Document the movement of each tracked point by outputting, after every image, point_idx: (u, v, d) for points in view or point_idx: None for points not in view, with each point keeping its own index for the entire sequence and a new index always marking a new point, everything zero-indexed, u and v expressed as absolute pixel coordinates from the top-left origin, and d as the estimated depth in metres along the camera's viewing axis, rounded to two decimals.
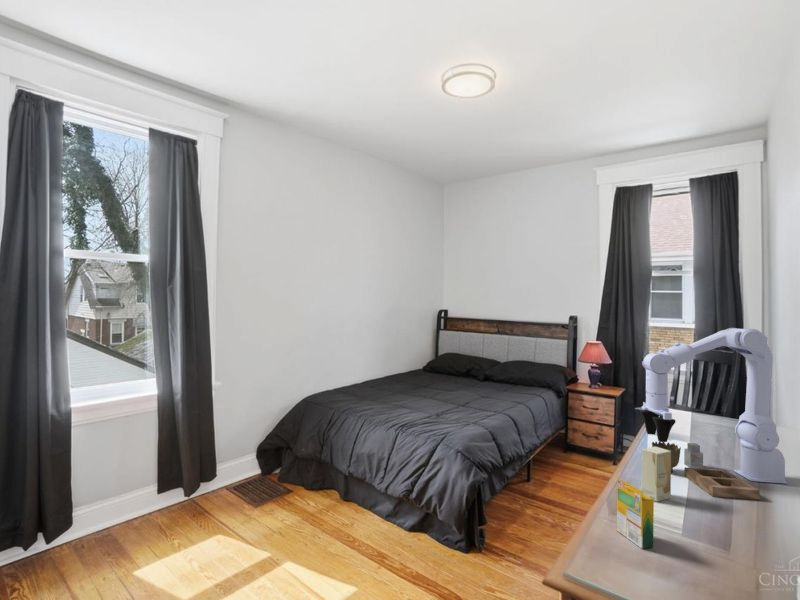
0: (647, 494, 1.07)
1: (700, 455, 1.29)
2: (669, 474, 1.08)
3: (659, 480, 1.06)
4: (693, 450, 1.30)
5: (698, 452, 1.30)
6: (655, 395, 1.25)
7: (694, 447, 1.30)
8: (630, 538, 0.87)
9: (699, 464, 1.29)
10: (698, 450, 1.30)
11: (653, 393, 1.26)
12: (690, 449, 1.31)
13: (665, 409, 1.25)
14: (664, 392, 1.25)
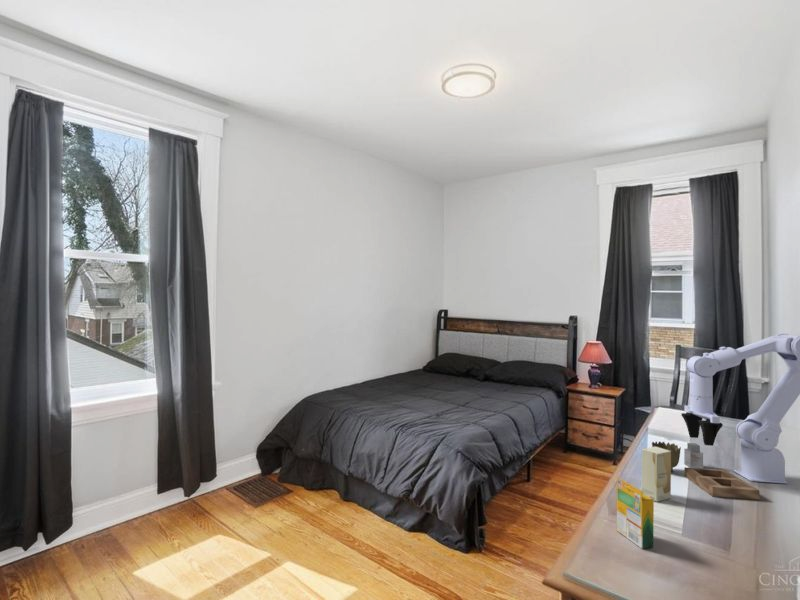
0: (647, 494, 1.07)
1: (699, 455, 1.29)
2: (669, 474, 1.08)
3: (659, 480, 1.06)
4: (693, 450, 1.30)
5: (698, 452, 1.30)
6: (700, 398, 1.25)
7: (694, 447, 1.30)
8: (630, 538, 0.87)
9: (699, 464, 1.29)
10: (698, 450, 1.30)
11: (698, 396, 1.25)
12: (690, 449, 1.31)
13: (711, 412, 1.24)
14: (709, 395, 1.24)
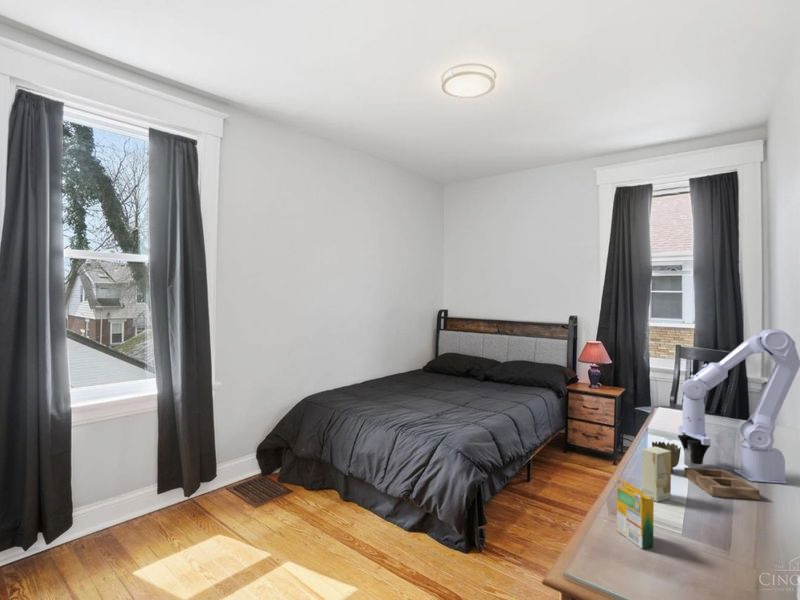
0: (647, 494, 1.07)
1: None
2: (669, 474, 1.08)
3: (659, 480, 1.06)
4: None
5: None
6: (693, 420, 1.29)
7: None
8: (630, 538, 0.87)
9: (699, 464, 1.29)
10: None
11: (691, 418, 1.30)
12: (690, 449, 1.31)
13: (702, 434, 1.29)
14: (698, 417, 1.29)
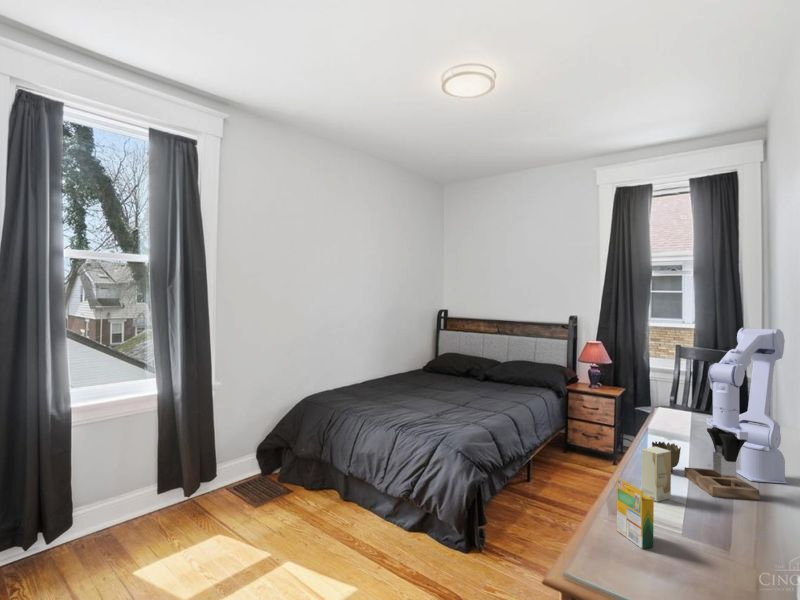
0: (647, 494, 1.07)
1: None
2: (669, 474, 1.08)
3: (659, 480, 1.06)
4: (724, 454, 1.12)
5: None
6: (725, 411, 1.11)
7: None
8: (630, 538, 0.87)
9: (731, 470, 1.11)
10: None
11: (723, 408, 1.11)
12: (720, 453, 1.12)
13: (737, 427, 1.10)
14: None
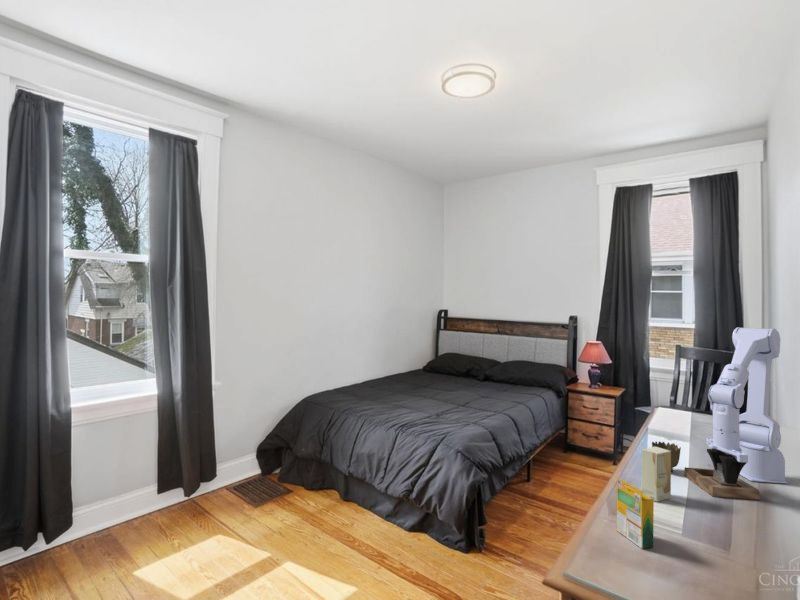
0: (647, 494, 1.07)
1: None
2: (669, 474, 1.08)
3: (659, 480, 1.06)
4: None
5: None
6: (726, 433, 1.11)
7: None
8: (630, 538, 0.87)
9: None
10: None
11: (723, 430, 1.11)
12: (721, 471, 1.12)
13: (737, 449, 1.10)
14: (739, 428, 1.11)
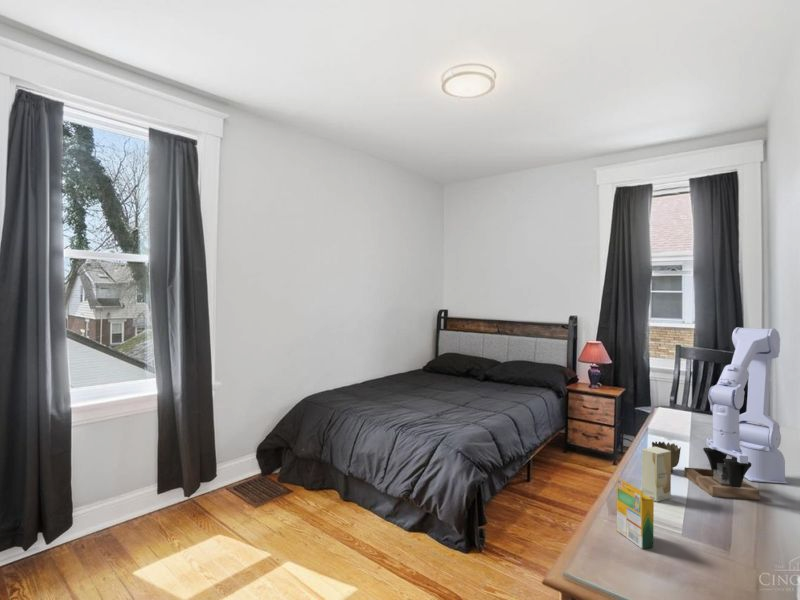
0: (647, 494, 1.07)
1: None
2: (669, 474, 1.08)
3: (659, 480, 1.06)
4: (724, 472, 1.12)
5: None
6: (726, 433, 1.11)
7: (726, 469, 1.12)
8: (630, 538, 0.87)
9: None
10: None
11: (723, 431, 1.11)
12: (721, 471, 1.12)
13: (737, 449, 1.10)
14: (739, 429, 1.11)
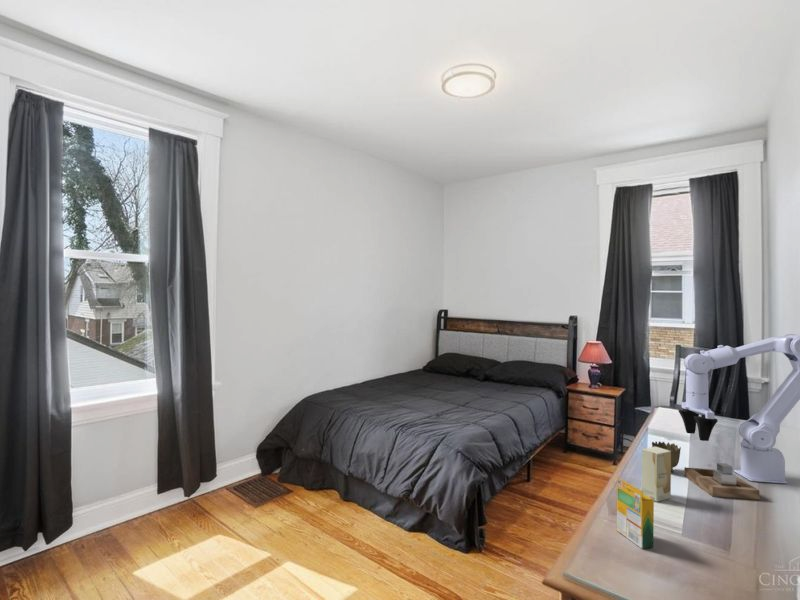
0: (647, 494, 1.07)
1: (732, 477, 1.11)
2: (669, 474, 1.08)
3: (659, 480, 1.06)
4: (724, 472, 1.12)
5: (730, 474, 1.11)
6: (696, 395, 1.27)
7: (726, 469, 1.12)
8: (630, 538, 0.87)
9: None
10: (730, 472, 1.11)
11: (694, 393, 1.28)
12: (721, 471, 1.12)
13: (706, 408, 1.27)
14: (703, 392, 1.27)
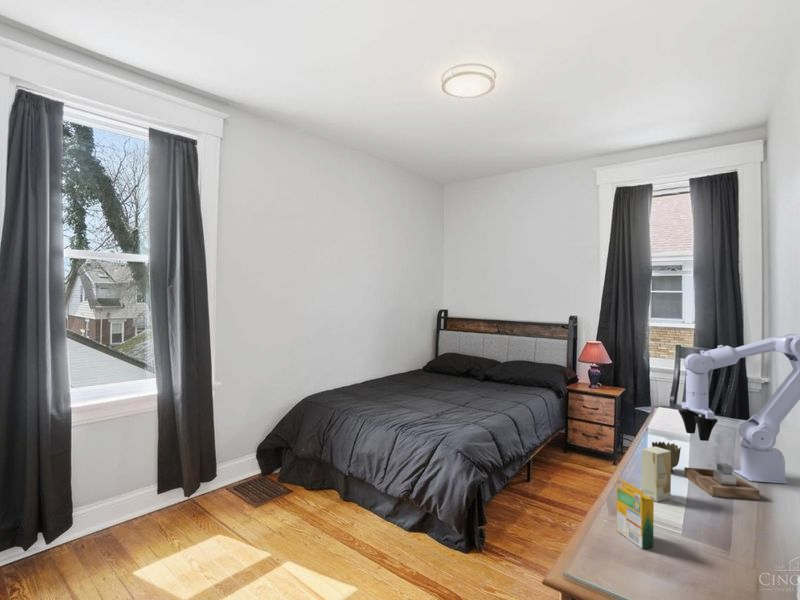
0: (647, 494, 1.07)
1: (732, 477, 1.11)
2: (669, 474, 1.08)
3: (659, 480, 1.06)
4: (724, 472, 1.12)
5: (730, 474, 1.11)
6: (696, 395, 1.27)
7: (726, 469, 1.12)
8: (630, 538, 0.87)
9: None
10: (730, 472, 1.11)
11: (694, 393, 1.28)
12: (721, 471, 1.12)
13: (706, 408, 1.27)
14: (703, 392, 1.27)
